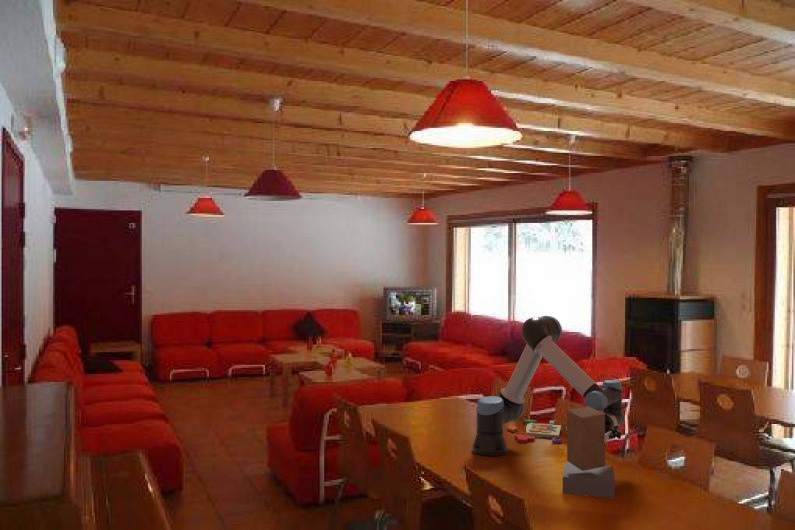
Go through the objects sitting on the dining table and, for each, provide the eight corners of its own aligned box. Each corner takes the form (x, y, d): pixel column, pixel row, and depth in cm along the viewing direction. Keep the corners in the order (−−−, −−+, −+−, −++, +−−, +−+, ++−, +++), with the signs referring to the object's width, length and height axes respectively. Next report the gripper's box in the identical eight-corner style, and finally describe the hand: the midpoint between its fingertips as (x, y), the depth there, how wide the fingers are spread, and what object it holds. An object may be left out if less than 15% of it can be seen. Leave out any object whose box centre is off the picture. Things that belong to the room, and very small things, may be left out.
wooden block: (605, 466, 235) (605, 413, 233) (582, 471, 232) (581, 417, 230) (589, 456, 244) (588, 405, 242) (566, 461, 241) (565, 409, 239)
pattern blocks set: (502, 423, 336) (502, 417, 336) (567, 424, 335) (567, 418, 335) (513, 443, 298) (513, 437, 298) (586, 445, 297) (586, 438, 297)
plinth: (562, 493, 234) (562, 476, 234) (564, 477, 251) (564, 462, 251) (614, 499, 228) (614, 482, 228) (613, 482, 246) (613, 466, 246)
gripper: (637, 438, 247) (620, 451, 230) (573, 428, 261) (553, 439, 244) (637, 419, 247) (620, 430, 230) (573, 410, 261) (553, 420, 244)
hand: (586, 435), depth 237 cm, fingers closed on wooden block, 13 cm apart
